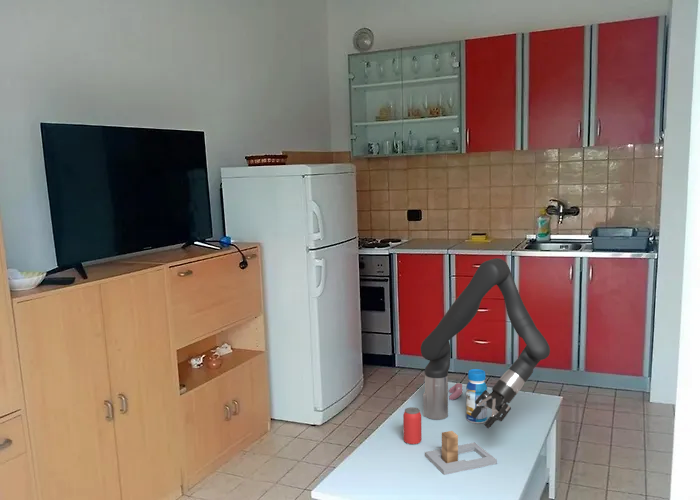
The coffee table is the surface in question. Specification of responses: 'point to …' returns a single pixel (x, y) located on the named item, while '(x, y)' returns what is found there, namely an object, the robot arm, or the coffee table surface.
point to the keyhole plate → (461, 465)
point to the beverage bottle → (475, 395)
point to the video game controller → (455, 391)
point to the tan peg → (449, 447)
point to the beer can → (412, 425)
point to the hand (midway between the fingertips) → (479, 421)
